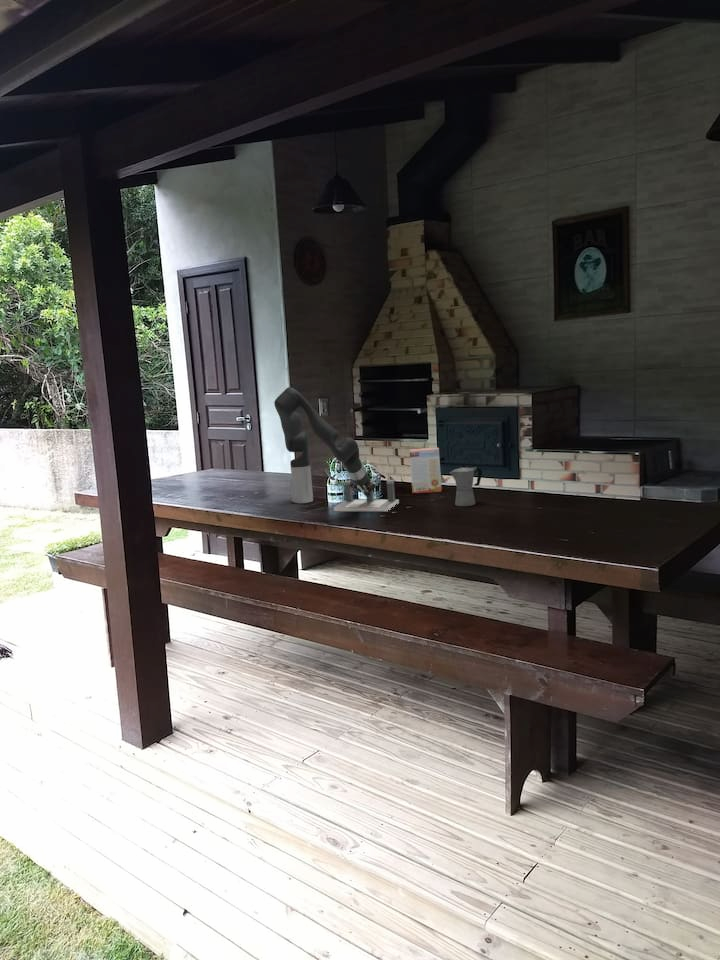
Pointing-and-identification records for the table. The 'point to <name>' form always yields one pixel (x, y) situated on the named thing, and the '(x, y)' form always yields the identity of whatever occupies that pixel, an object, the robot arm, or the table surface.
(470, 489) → the coffeepot
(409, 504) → the table surface
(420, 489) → the cracker box
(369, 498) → the breaker
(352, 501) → the grey base with posts
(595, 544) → the table surface
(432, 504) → the table surface
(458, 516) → the table surface
